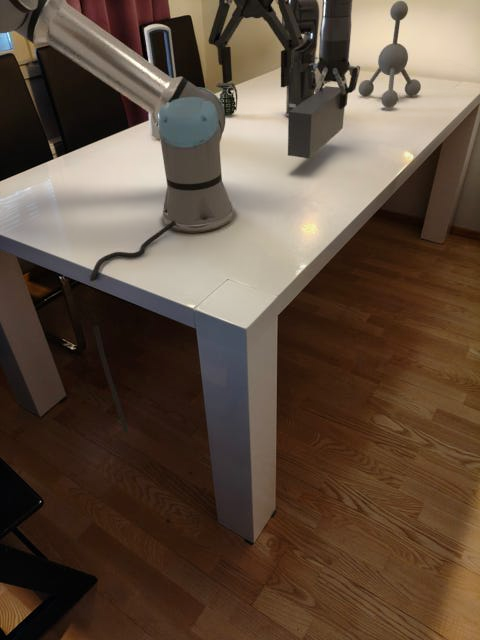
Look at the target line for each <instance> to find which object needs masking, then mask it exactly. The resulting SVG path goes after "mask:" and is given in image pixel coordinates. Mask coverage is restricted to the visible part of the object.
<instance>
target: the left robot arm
mask: <svg viewBox="0 0 480 640" xmlns="http://www.w3.org/2000/svg"><path fill="white" fill-rule="evenodd" d="M233 2H234V4H235V6H236V7H235V9H234V10H233V12H232V14H231V17H230V19H229V21H228V22H227V24H226V20H227V17H228V14H229V10H230V8H231V4H232V3H233ZM273 2H274V0H218V7H217V10H216V14H215V17H214V20H213V24H212V27H211V30H210V34H209V37H208V44H210V45H212V46H215V47H216V49H217V58H218V60H217V61H218V64H219V65H220V66H221V72H222V73H221V75H222V83H231V82H232V81H233V72H232V52H231V50H232V49H231V46H228V45H229V44H228V43H229V42H230V40H231V38H232V37H233V36H234V33H235V32H236V30H237V28H238V27H239V26H240V24H241V22H242V21H243V19H250V18H252V19H253V18H254V19H261V18H262V19H263V20H264V21H265V22H266V23H267V24H268V26H269V28H270V29H271V31H272V32H273V34H274V35H275V37H276V38H277V39H278V41H279V43H280V44H281V45H282V47H283V49H282V50H281V51H280V88H287V86H288V85H289V84H290V68H292V67H293V65H294V49H295V48H296V47H299V46H301V45H303V43H304V40H303V36H302V35H303V34H301V32H300V30H299V27H298V24H297V22H296V19H295V16H294V14H293V11H292V8H291V6H290V3H289V0H275V4H277V5H278V9H279V12H280V14H281V18H282V17H283V20H284V22H285V25H286V27H287V30H288V32H287V31H286V29H285V28H284V26H283V25H282V21H281V20H280V19H279V17H278V16H277V13H276V10H274V8H273V6H272V4H273ZM225 24H226V26H225ZM224 26H225V28H224ZM11 32H15V33H17V34H19V35H20V36H21V37H23V38H24V39H25V40H27V41H29V42H31V43H32V44H33V45H35V46H37V47H39V46H45V45H48V46H50V47H52V48H53V49H55V50H56V51H57V52H59V53H61V54H62V55H63V56H65V57H66V58H68V59H69V60H71V61H72V62H74V63H75V64H76V65H78V66H80V67H81V68H82V69H84V70H86V71H87V72H89V73H90V74H91V75H93V76H94V77H96V78H97V79H99V80H100V81H102V82H103V83H105V84H106V85H108V86H109V87H110V88H112V89H114V90H115V91H116V92H118V93H120V94H121V95H122V96H124V97H125V98H127V99H128V100H130V102H132V103H134V104H135V105H137V106H138V107H140V108H141V109H142V110H145V111H146V112H147V113H148V114H149V113H150V114H151V115H152V117H153V120H154V124H155V125H156V126H157V127H158V131H159V134H160V139H159V140H160V147H161V153H162V159H163V168H164V174H165V180H166V190H165V191H166V192H165V196H164V203H163V207H162V218H163V222H164V224H165V226H164V227H162V229H159V231H157V232H156V233H155V234H153V235H152V236H151V237H149V238H148V239H147V240H146V241H144V242H143V243H142V244H141V245H140V248H139V250H138V251H135V252H127V251H115V252H111V253H109V254H106V255H104V256H102V257H101V258H99V259H98V260H97V261H96V263H95V265H94V267H93V269H92V272H91V275H90V278H89V281H90V282H94V281H95V280H96V278H97V276H98V274H99V271H100V269H101V266H102V265H103V264H104V263H105V262H107V261H109V260H112V259H115V258H117V257H118V258H138V257H140V256H143V254H144V253H145V250H146V248H147V247H148V246H150V245H151V244H152V243H153V242H154V241H156V240H157V239H158V238H160V237H161V236H162V235H164V234H165V233H167V232H168V231H169V230H173V231H177V232H180V233H190V234H191V233H192V234H193V233H194V234H195V233H196V234H197V233H205V232H206V233H207V232H210V231H215V230H216V229H220V228H222V227H224V226H226V225H227V224H228V223H230V221H231V220H232V218H233V216H234V212H233V211H234V210H233V204H232V201H231V200H230V197H229V195H228V192H227V190H226V187H225V184H224V182H223V175H222V174H223V173H222V161H221V140H222V136H223V133H224V131H225V127H226V116H225V112H224V108H223V105H222V103H221V101H220V100H219V98H220V97H218V95H216V93H214V92H213V91H211V90H210V89H207V88H205V87H201V86H196V85H195V84H193V83H192V82H190V81H189V80H188V79H186V78H185V77H183V76H176V78H171V77H169V74H166V73H165V72H164V71H162V70H161V69H159V67H157V66H156V67H155V66H154V65H152V64H151V63H150V62H149V60H147V59H145V58H144V57H143V56H141V55H140V54H139V53H137V52H136V51H135V50H133V49H131V48H130V47H129V46H127V45H126V44H125V43H123V42H122V41H120V40H119V39H117V38H116V37H115V36H113V35H112V34H110V33H109V32H107V31H106V30H105V29H103V28H102V27H101V26H100V25H98V24H97V23H95V22H93V20H91V19H89V18H88V17H87V16H85V15H84V14H83V13H82V12H80V11H78V10H77V9H75V8H74V7H73V6H71V5H70V4H69V3H68V1H67V0H0V34H8V33H11ZM288 33H289V34H288ZM219 65H218V66H219ZM99 327H100V326H99V325H93V332H94V337H95V341H96V345H97V349H98V353H99V356H100V360H101V363H102V367H103V370H104V373H105V377H106V380H107V383H108V385H109V388H110V392H111V395H112V397H113V401H114V403H115V406H116V410H117V413H118V417H119V420H120V423H121V427H122V430H123V431H122V432H123V433H124V434H126V435H127V434H128V433H129V430H128V427H127V423H126V422H127V421H126V419H125V416H124V412H123V408H122V405H121V402H120V400H119V397H118V393H117V391H116V390H117V389H116V387H115V384H114V381H113V377H112V374H111V370H110V368H109V363H108V361H107V357H106V354H105V350H104V345H103V341H102V337H101V332H100V328H99Z"/></svg>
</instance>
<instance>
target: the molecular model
mask: <svg viewBox="0 0 480 640" xmlns="http://www.w3.org/2000/svg"><path fill="white" fill-rule="evenodd" d="M389 13H390V14H389V15H390V17H391V19H392V20H393V21H395V23H394V31H393V36H392V37H393V38H392V43H389V44H387V45H386V46H384V47H383V48H382V50H381V51H380V53H379V55H378V59H377V64H378V67H377V69H376V70H375V72H374V74H373V75H372V76H371V78H370V79H365V80H362V81H361V82H360V83H359V85H358V94H359V95H360V96H362V97H365V98H367V97H369V96H371V95H372V94H373V93H374V90H375V86H374V82H375V80H376V79H377V78H378V76H379V75H380V74H381V72H382V73H383V74H385V76H389V79H388V89H387V90H385V91H384V92H383V93H382V95H381V98H380V102H381V104H382V106H383V107H385V108H388V109H389V108H393V107H394V106H396V105H397V103H398V101H399V94H398V92H397V91H396V90H394V84H395V83H394V82H395V76H396V75H399V74H402V76H403V78H404V80H405V82H406V83H405V86H404V93H405V94H406V95H407V96H409V97H414V96H416V95H418V94H419V93H420V91H421V88H422V85H421V83H420V81H419V80H418V79H411V77H410V75H409V74H408V72H407V70H406V67H407V64H408V60H409V53H408V50H407V48H406V47H405V46H404V45H403V44H401V43H398V39H399V32H400V26H401V25H400V24H401V21H403V20H404V19H405V18H406V16H407V15H408V13H409V7H408V4H407V3H406V2H405V1H403V0H398V1H396V2H394V3H393V4H392V6H391V7H390V12H389Z"/></svg>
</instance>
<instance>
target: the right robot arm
mask: <svg viewBox="0 0 480 640" xmlns="http://www.w3.org/2000/svg"><path fill="white" fill-rule="evenodd" d="M289 3H290V6H291V8H292V11H293V14H294V16H295V19H296V22H297V24H298V27H299V30H300V32H301V35H303V36H302V38H303V40H304V43H303V45H301V46H299V47H296V48H295V49H294V65H293V67H292V68H290V84H289V85H288V86H286V95H285V96H286V100H285V101H286V103H285V108H286V109H285V116H286V117H287V118H288V117H289V111H290V110H292V109H293V108H295V107H296V106H298V105H299V104H301V103H302V102H303V101H305V100H306V99H308V98H309V97H311V96H312V95H314V94H315V93H316V92H318V91H319V90H321V89H322V88H324V87H325V84H326V83H327V82H333V83H337V87H339V88H340V91H341V98H340V109H344V110H345V108H346V107H347V105H348V99H349V98H348V96H349V94H351V93H353V92H354V91H356V88H357V84H358V81H359V76H360V71H361V66H360V65H356V66H354V65H352V64H350V60H349V58H350V47H351V35H352V12H353V11H352V10H353V0H322V8H321V9H322V10H321V22H320V5H319V2H318V0H289ZM281 23H282V25H283V26H284V28H285V29H286V31H287V32H288V30H287V27H286V25H285V22H284V20H283V17H282V16H281ZM319 27H320V29H319ZM288 34H289V33H288ZM318 37H319V38H318ZM318 39H319V49H318ZM317 49H318V50H317ZM317 51H318V58H319V61H318V63H317V64H316V57H317ZM317 68H318V70H319V72H320V74H321V76H320V78H319V80H318V84H316V78H315V72H316V71H317ZM348 72H349V76H350V80H349V84H347V83H348V81H347V80H348V79H347V77H346V74H347V73H348ZM344 107H345V108H344Z"/></svg>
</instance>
